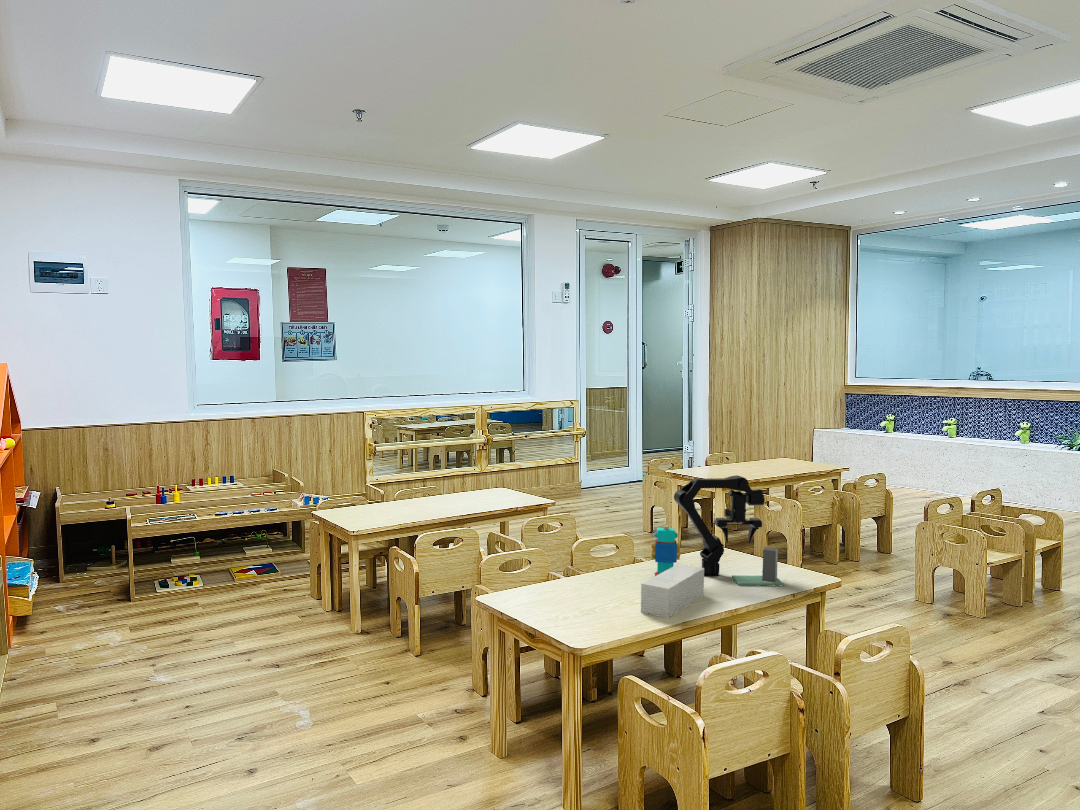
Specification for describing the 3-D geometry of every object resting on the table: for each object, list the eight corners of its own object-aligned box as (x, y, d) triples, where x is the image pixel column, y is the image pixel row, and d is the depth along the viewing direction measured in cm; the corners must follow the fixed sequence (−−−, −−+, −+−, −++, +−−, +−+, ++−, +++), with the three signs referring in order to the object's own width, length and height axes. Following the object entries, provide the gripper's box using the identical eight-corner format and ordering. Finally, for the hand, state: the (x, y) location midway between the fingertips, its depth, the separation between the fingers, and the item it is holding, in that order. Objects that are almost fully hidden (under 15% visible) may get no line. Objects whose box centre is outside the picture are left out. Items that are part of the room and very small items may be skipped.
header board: (738, 585, 314) (738, 577, 314) (731, 577, 325) (731, 569, 325) (783, 586, 314) (783, 577, 314) (775, 578, 325) (775, 569, 325)
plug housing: (762, 580, 318) (763, 549, 317) (764, 577, 323) (765, 547, 322) (775, 581, 316) (775, 551, 315) (777, 578, 321) (777, 548, 320)
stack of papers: (668, 618, 276) (668, 588, 275) (640, 613, 282) (641, 583, 281) (703, 595, 302) (704, 568, 301) (677, 590, 308) (678, 563, 307)
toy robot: (678, 577, 324) (680, 518, 322) (679, 582, 318) (681, 521, 316) (650, 576, 325) (651, 517, 324) (651, 581, 319) (652, 520, 318)
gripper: (755, 502, 338) (754, 538, 339) (712, 502, 338) (711, 537, 339) (763, 507, 327) (762, 544, 328) (718, 507, 327) (717, 544, 328)
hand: (737, 542), depth 331 cm, fingers open, 9 cm apart
